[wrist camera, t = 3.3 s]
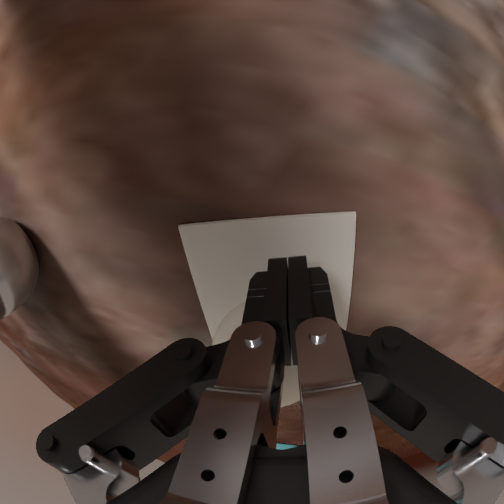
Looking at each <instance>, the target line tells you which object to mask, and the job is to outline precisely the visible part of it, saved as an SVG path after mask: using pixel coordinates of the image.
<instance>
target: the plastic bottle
mask: <svg viewBox="0 0 504 504" xmlns="http://www.w3.org/2000/svg"><path fill="white" fill-rule="evenodd" d="M38 273H39V263H38V259H37V255H36V252H35V250H34V247H33V245H32V243H31V242H30V240H29V238H28V237H27V235H26V233H25V232H24V231H23V230H22V228H21V227H20V226H19V225H18V224H17V223H15V222H14V221H12V220H10V219H6V218H0V321H1V320H2V319H3V318H4V317H6V316H8V315H9V314H10V313H12V312H13V311H15V310H16V309H17V308H18V307H19V306H21V305H22V304H23V303H24V302H25V301H27V299H28V297H29V296H30V294H31V293H32V291H33V290H34V288H35V286H36V284H37V279H38Z"/></svg>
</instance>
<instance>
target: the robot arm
mask: <svg viewBox="0 0 504 504" xmlns="http://www.w3.org/2000/svg"><path fill="white" fill-rule="evenodd" d="M291 350H292V360H293V365H297V367H298V382H299V394H300V405H301V416H302V429H303V445H300V446H297V447H293V448H289V449H284V450H279V449H276V445H277V426H278V420H279V413H280V406H281V399H282V392H283V380H284V368H285V366H291ZM369 411H370V412H372V413H373V414H374V415H375V416H377V417H378V418H379V419H380V420H382V421H383V422H384V423H386V424H387V425H388V426H389V427H391V428H392V429H393V430H394V431H396V432H397V433H398V434H400V435H401V436H402V437H404V438H405V439H406V440H408V441H409V442H410V443H412V444H413V445H414V446H416V447H417V448H418V449H420V450H421V451H422V452H424V453H425V454H426V455H428V456H429V457H431V458H432V459H433V460H435V461H436V462H437V463H439V465H438V468H437V479H438V482H439V483H440V485H441V486H442V487H443V488H444V489H445V491H446V493H447V495H446V494H444V493H443V492H442V491H440V490H439V489H438V488H436V487H435V486H434V485H433V484H431V483H430V482H429V481H427V480H426V479H425V478H424V477H423V476H421V475H420V474H419V473H418V472H416V471H415V470H414V469H413V468H412V467H410V466H409V465H408V464H407V463H406V462H404V461H403V460H402V459H401V458H400V457H398V456H397V455H396V454H394V453H392V452H391V451H389V450H387V449H385V448H382V447H379V446H377V442H376V438H375V433H374V429H373V424H372V420H371V416H370V412H369ZM186 437H187V439H186V442H185V444H184V447H183V450H182V453H180V454H178V455H176V456H174V457H173V458H171V459H170V460H168V461H167V462H166V463H165V464H163V465H162V466H161V467H159V468H158V469H157V470H155V471H154V472H153V473H151V474H150V475H148V476H147V477H145V478H144V479H143V480H141V481H140V477H139V470H141V469H142V468H143V467H145V466H147V465H148V464H149V463H151V462H153V461H154V460H155V459H157V458H158V457H160V456H161V455H163V454H164V453H165V452H167V451H168V450H170V449H171V448H172V447H174V446H175V445H177V444H178V443H179V442H181V441H182V440H183V439H185V438H186ZM36 449H37V453H38V455H39V457H40V458H41V459H42V460H43V461H45V462H46V463H48V464H50V465H51V466H53V467H55V468H56V469H58V470H59V471H60V472H61V473H62V475H63V477H64V479H65V481H66V483H67V486H68V488H69V490H70V492H71V494H72V496H73V498H74V500H75V502H76V504H494V503H495V501H496V500H497V498H498V497H499V495H500V493H501V492H502V490H503V488H504V392H502V391H501V390H499V389H498V388H496V387H494V386H493V385H491V384H490V383H488V382H487V381H485V380H483V379H482V378H480V377H479V376H477V375H475V374H474V373H472V372H471V371H469V370H467V369H466V368H464V367H463V366H461V365H459V364H458V363H456V362H455V361H453V360H451V359H450V358H448V357H447V356H445V355H443V354H442V353H440V352H439V351H437V350H435V349H434V348H432V347H430V346H429V345H427V344H426V343H424V342H422V341H421V340H419V339H417V338H416V337H414V336H413V335H411V334H409V333H408V332H406V331H404V330H402V329H400V328H398V327H392V326H388V327H382V328H379V329H377V330H375V331H374V332H373V333H372V334H371V336H370V337H368V336H361V335H355V334H351V333H349V332H347V331H345V330H344V329H342V328H341V327H340V326H339V324H338V322H337V320H336V315H335V310H334V305H333V300H332V295H331V290H330V285H329V280H328V275H327V273H326V272H325V271H324V270H323V269H322V268H321V267H310V268H308V267H307V259H306V255H304V256H292V257H288V263H287V257H282V258H270V259H268V268H267V271H262V272H256V273H255V274H254V275H253V277H252V278H251V279H250V281H249V287H248V292H247V298H246V303H245V308H244V313H243V318H242V324H241V325H240V326H239V327H238V328H236V329H235V330H234V332H233V333H232V335H231V338H230V339H229V340H228V341H226V342H223V343H220V344H216V345H212V346H208V347H205V346H204V344H203V343H202V342H201V341H199V340H197V339H194V338H184V339H180V340H178V341H175V342H174V343H172V344H171V345H169V346H168V347H166V348H165V349H164V350H162V351H161V352H159V353H158V354H156V355H155V356H154V357H152V358H151V359H149V360H148V361H146V362H145V363H143V364H142V365H141V366H139V367H138V368H136V369H135V370H133V371H132V372H130V373H129V374H127V375H126V376H124V377H123V378H122V379H120V380H119V381H117V382H116V383H114V384H113V385H111V386H110V387H108V388H107V389H105V390H104V391H102V392H101V393H99V394H98V395H96V396H95V397H93V398H91V399H90V400H88V401H87V402H85V403H84V404H82V405H81V406H79V407H78V408H76V409H75V410H73V411H71V412H70V413H68V414H67V415H65V416H64V417H62V418H61V419H59V420H57V421H56V422H54V423H53V424H51V425H49V426H48V427H46V428H45V429H43V430H42V432H41V433H40V434H39V436H38V438H37V442H36Z"/></svg>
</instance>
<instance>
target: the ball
mask: <svg viewBox="0 0 504 504" xmlns="http://www.w3.org/2000/svg"><path fill="white" fill-rule="evenodd" d="M245 303H246V301H245V302H243V303H241V304H239V305H238V306H236V307H235V308H234V309H232V310H231V311H230V312H229V313H228V314H227V315H226V316H225V317H224V318H223V320H222V321H221V323H220V324H219V326H218V328H217V330H216V332H215V335H214V338H213V343H212V345H216V344H220V343H223V342H226V341H228V340H229V339H230V338H231V335H232V333H233V332H234V330H235V329H236V328H238V327H239V326H240V325H241V324H242V318H243V313H244V308H245ZM299 400H300V394H299V382H298V367H297V365H293V360H292V350H291V366H285V368H284V380H283V392H282V399H281V406H280V407H284V406H288V405H291V404H293V403H295V402H297V401H299Z"/></svg>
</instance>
